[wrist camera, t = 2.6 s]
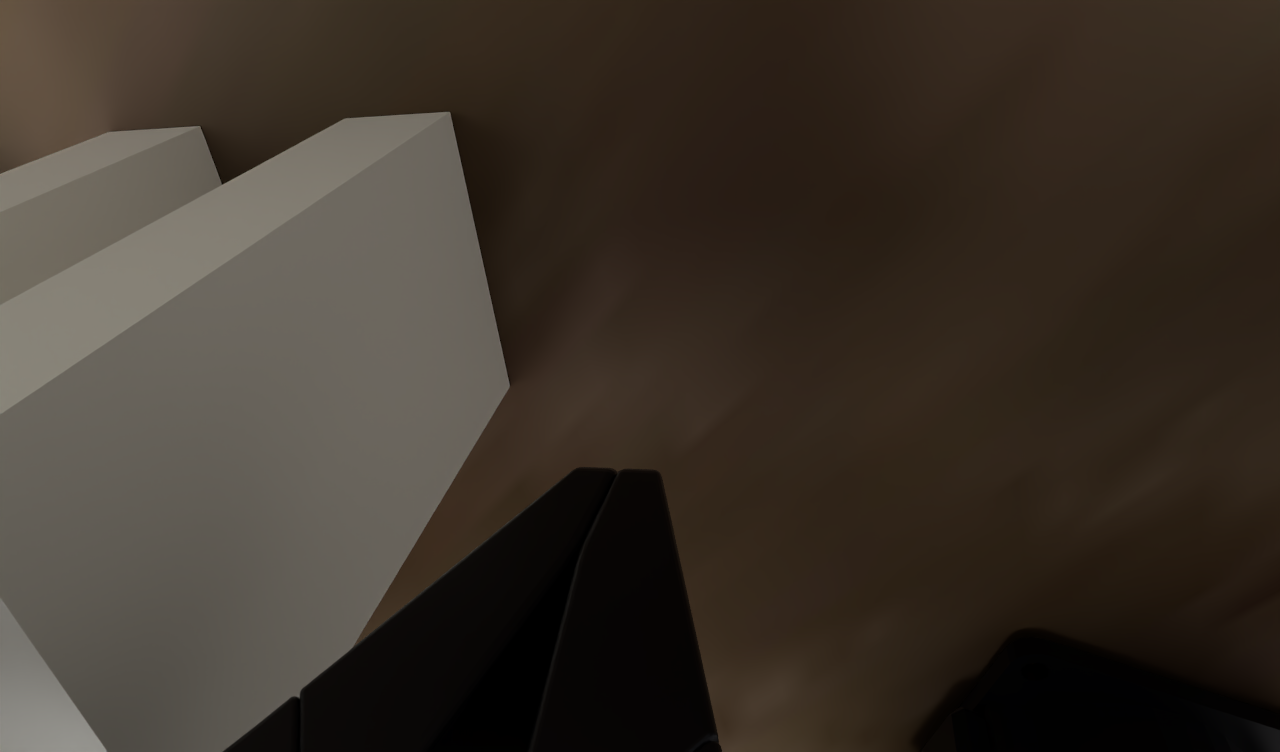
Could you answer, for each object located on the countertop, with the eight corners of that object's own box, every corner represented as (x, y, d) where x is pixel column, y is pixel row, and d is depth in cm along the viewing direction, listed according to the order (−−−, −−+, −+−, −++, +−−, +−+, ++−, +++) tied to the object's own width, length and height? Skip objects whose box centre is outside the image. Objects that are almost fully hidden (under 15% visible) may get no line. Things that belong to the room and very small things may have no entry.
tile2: (200, 125, 14) (-552, 448, 6) (296, 382, 16) (-156, 829, 9) (108, 131, 14) (-702, 443, 7) (216, 381, 17) (-281, 808, 9)
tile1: (449, 111, 13) (-87, 472, 5) (510, 386, 15) (205, 891, 8) (344, 118, 13) (-294, 463, 6) (420, 384, 16) (49, 865, 8)
